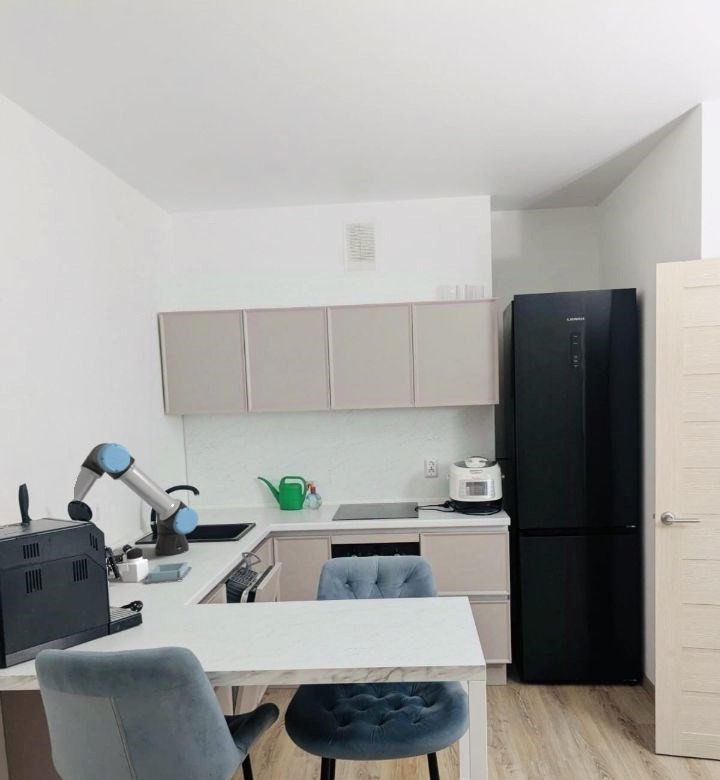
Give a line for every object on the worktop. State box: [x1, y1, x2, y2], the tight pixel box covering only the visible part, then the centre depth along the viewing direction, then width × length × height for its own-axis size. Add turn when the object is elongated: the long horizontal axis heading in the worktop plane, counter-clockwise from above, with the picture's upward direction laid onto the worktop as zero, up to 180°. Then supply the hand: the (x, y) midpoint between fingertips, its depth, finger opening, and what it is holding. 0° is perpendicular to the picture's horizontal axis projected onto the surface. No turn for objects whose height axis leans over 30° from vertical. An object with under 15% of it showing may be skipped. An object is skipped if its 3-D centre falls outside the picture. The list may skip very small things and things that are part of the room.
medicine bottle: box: [121, 547, 150, 583], centre depth 234 cm, size 7×7×12 cm
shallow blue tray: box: [144, 561, 192, 585], centre depth 235 cm, size 16×14×4 cm
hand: (133, 562), depth 234 cm, fingers open, 13 cm apart
